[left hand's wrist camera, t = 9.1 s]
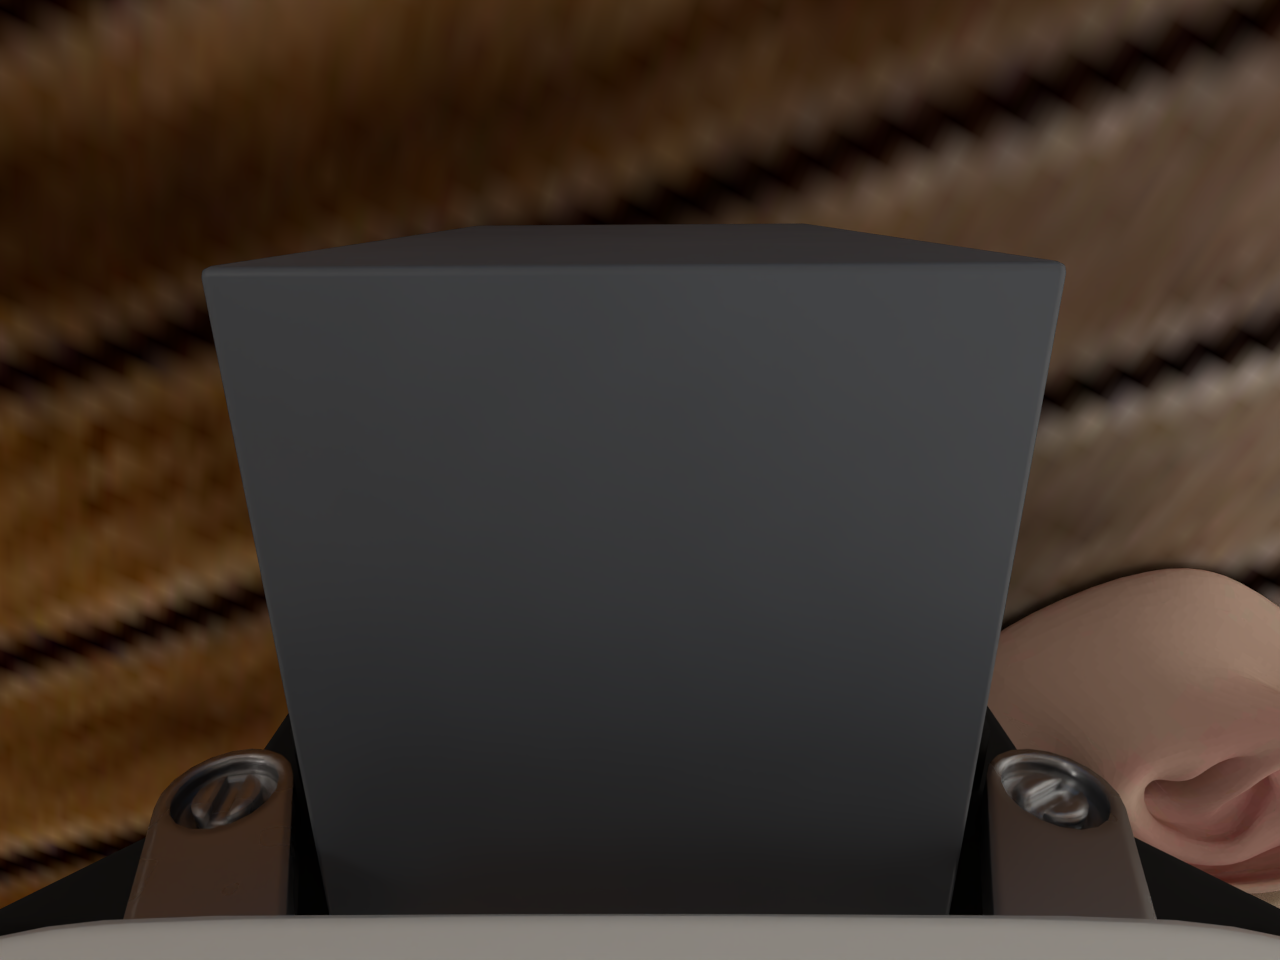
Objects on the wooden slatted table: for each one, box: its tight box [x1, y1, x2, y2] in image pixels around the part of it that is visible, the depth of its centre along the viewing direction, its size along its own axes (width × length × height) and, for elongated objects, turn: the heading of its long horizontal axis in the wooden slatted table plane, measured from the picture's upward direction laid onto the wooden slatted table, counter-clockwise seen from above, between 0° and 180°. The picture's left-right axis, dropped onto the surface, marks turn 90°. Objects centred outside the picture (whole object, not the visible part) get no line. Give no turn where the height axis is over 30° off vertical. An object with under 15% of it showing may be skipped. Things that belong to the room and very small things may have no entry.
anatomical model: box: [987, 568, 1280, 893], centre depth 25 cm, size 13×4×12 cm
